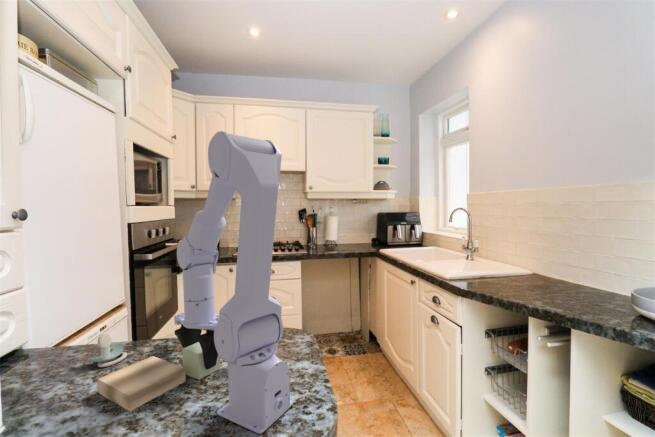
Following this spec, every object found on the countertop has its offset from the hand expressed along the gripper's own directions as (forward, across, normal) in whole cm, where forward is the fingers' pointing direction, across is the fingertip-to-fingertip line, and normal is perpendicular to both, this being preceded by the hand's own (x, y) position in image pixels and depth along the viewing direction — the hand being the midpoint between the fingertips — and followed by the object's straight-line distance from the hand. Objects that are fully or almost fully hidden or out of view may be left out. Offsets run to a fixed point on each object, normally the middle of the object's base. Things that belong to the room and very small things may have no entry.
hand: (201, 363), depth 61 cm
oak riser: (+2, +5, +9) cm, 10 cm away
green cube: (+1, 0, 0) cm, 1 cm away
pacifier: (+2, +22, +7) cm, 24 cm away
